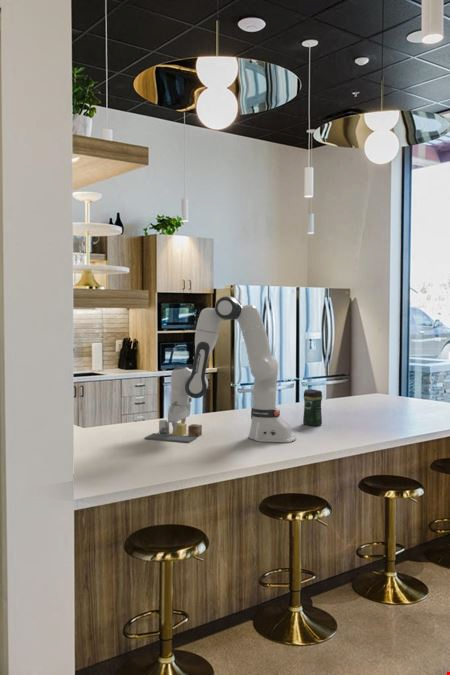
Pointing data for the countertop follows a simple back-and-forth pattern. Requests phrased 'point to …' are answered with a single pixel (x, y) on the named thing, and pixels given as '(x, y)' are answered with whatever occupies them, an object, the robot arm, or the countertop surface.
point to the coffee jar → (312, 407)
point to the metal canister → (163, 427)
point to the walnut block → (194, 430)
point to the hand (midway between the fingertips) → (178, 428)
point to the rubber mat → (171, 438)
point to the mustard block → (180, 429)
